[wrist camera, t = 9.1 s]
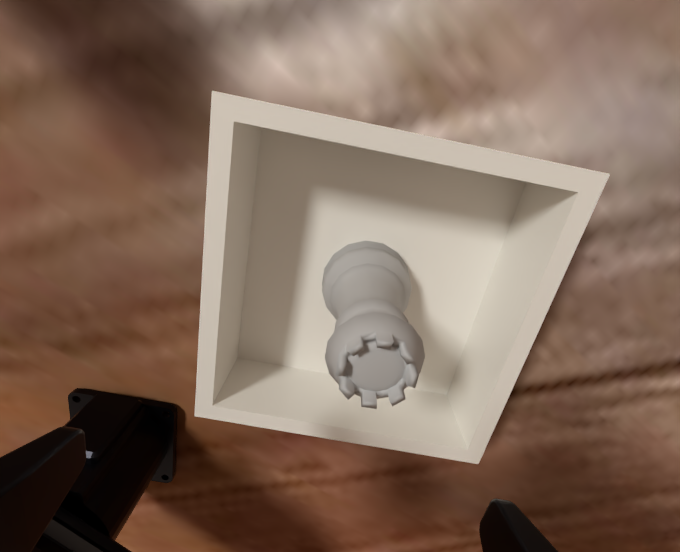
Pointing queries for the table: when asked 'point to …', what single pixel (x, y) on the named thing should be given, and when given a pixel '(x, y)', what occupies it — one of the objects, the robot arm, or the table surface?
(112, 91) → the table surface
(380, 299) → the rook chess piece
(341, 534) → the table surface
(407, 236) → the white square tray
